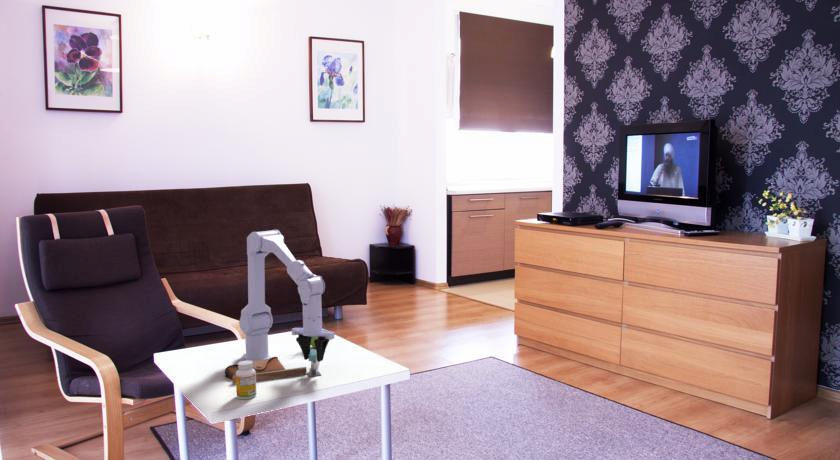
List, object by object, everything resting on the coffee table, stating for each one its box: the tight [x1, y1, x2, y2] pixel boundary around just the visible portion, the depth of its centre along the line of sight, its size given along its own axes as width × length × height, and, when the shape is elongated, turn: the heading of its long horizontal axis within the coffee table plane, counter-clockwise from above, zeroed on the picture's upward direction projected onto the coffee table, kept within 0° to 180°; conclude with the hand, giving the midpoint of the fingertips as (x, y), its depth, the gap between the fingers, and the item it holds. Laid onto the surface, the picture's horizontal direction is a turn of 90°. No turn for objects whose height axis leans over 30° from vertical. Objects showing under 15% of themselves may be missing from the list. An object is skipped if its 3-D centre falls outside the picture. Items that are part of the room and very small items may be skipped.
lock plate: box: [306, 370, 322, 378], centre depth 205 cm, size 4×4×1 cm
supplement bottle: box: [235, 360, 257, 400], centre depth 186 cm, size 5×5×10 cm
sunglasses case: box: [224, 356, 286, 382], centre depth 207 cm, size 18×7×7 cm
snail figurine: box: [310, 321, 324, 349], centre depth 235 cm, size 5×6×12 cm
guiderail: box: [232, 366, 308, 385], centre depth 202 cm, size 1×22×2 cm, turn 113°
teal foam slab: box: [308, 348, 321, 373], centre depth 208 cm, size 12×2×6 cm, turn 3°
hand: (313, 359), depth 205 cm, fingers closed on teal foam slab, 4 cm apart
